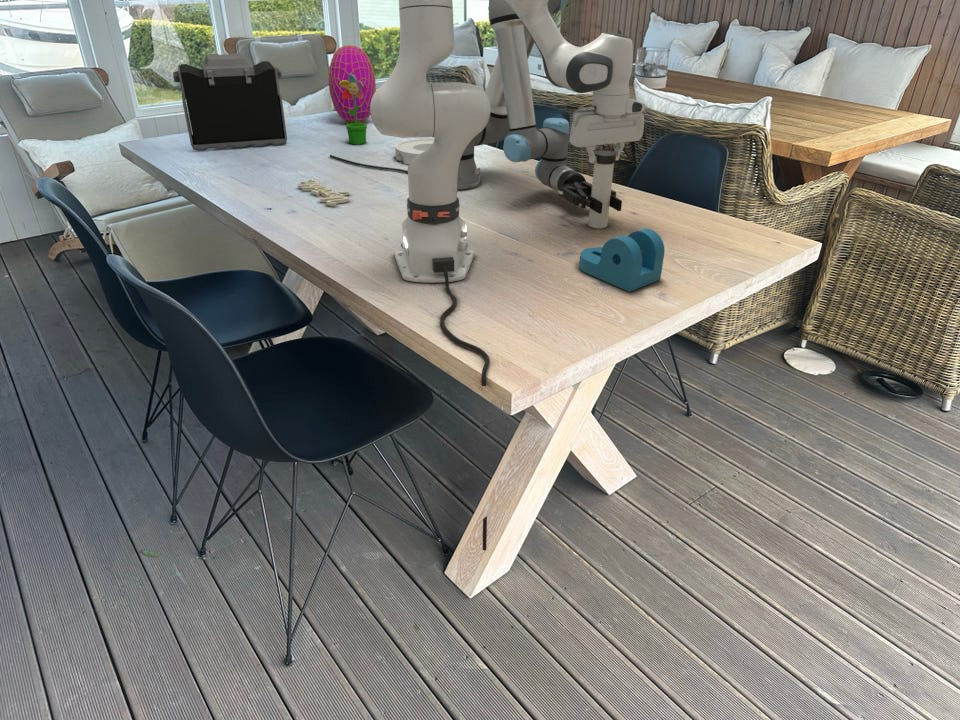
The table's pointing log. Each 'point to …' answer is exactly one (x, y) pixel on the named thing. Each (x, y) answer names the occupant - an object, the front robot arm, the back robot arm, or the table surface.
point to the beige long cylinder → (601, 193)
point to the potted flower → (354, 129)
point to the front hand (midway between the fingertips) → (604, 161)
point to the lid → (605, 157)
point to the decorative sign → (324, 192)
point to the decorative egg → (340, 66)
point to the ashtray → (411, 149)
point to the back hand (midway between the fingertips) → (610, 207)
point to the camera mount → (626, 260)
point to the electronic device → (232, 102)
